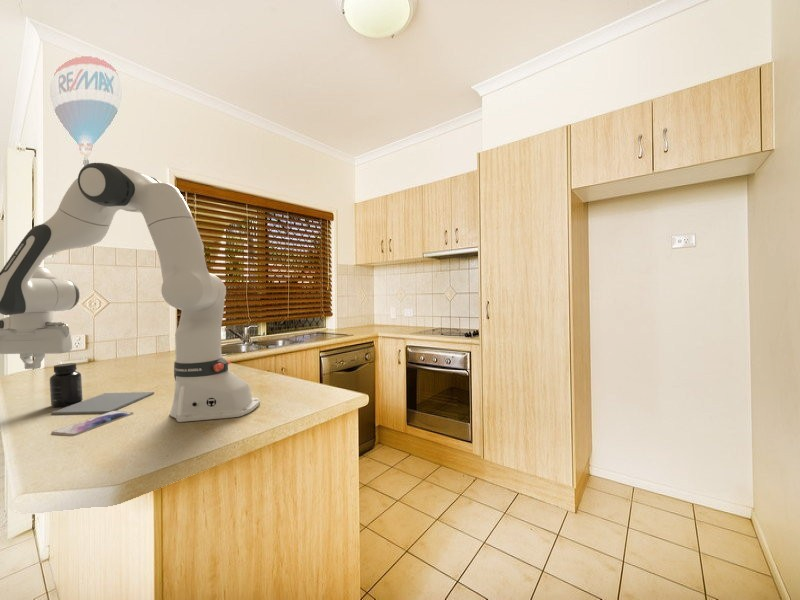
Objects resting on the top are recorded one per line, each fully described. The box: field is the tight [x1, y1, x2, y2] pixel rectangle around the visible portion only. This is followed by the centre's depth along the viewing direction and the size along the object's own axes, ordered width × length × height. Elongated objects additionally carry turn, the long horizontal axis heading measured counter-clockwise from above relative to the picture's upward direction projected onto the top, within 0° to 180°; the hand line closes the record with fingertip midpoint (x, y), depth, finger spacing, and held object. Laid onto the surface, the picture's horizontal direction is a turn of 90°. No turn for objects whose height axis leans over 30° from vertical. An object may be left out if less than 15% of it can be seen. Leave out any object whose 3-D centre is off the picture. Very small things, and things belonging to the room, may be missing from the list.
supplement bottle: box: [49, 362, 84, 409], centre depth 102 cm, size 7×7×12 cm
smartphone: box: [51, 410, 134, 437], centre depth 87 cm, size 7×1×15 cm
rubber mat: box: [50, 391, 155, 416], centre depth 102 cm, size 16×18×1 cm
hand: (32, 368), depth 101 cm, fingers closed
